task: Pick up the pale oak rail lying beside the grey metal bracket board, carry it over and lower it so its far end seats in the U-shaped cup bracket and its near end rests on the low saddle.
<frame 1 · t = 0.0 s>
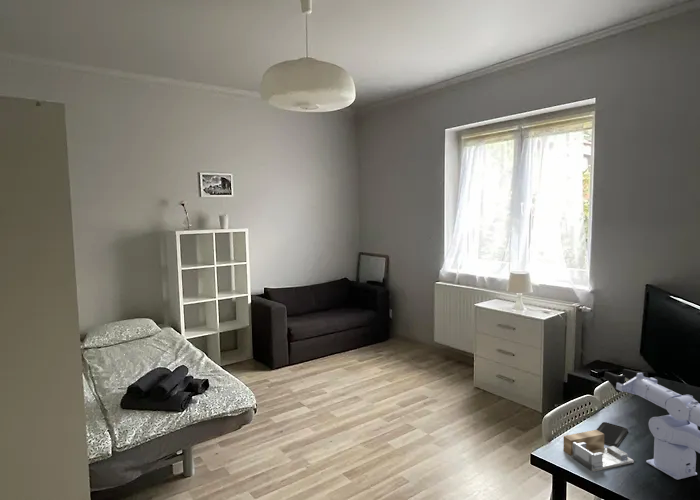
hand: (614, 373, 144), 22 cm above the table, tool horizontal, fingers open, 7 cm apart
phone: (609, 436, 147), on the table
oak rail: (583, 450, 138), on the table
bracket board: (604, 459, 132), on the table
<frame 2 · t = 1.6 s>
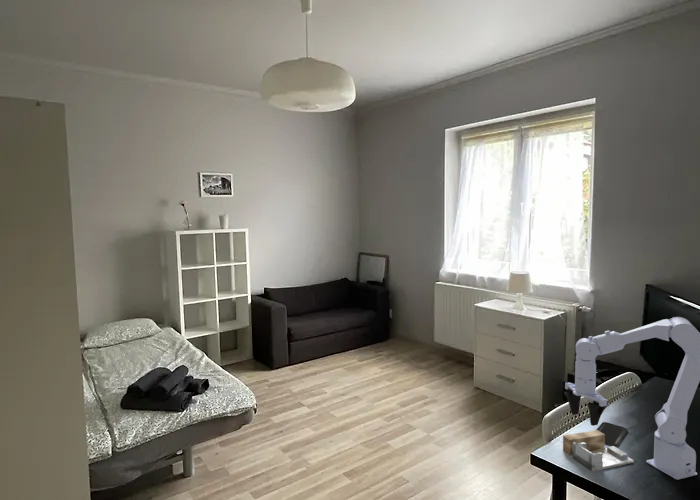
hand: (584, 419, 137), 10 cm above the table, tool pointing down, fingers open, 7 cm apart
nothing on the table moved.
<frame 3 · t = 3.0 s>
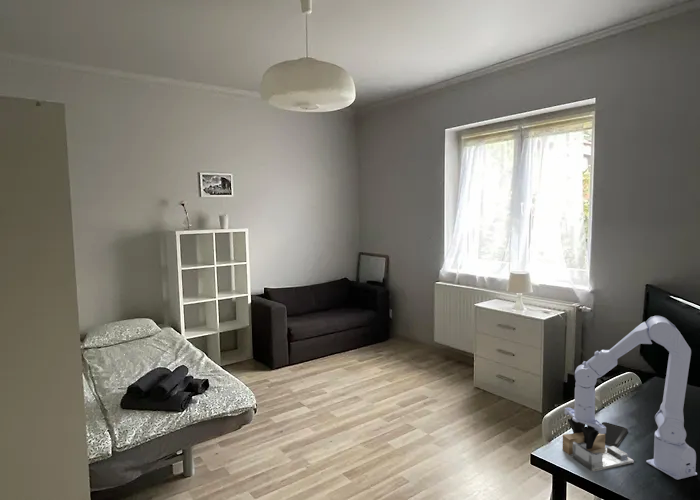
hand: (583, 445, 138), 1 cm above the table, tool pointing down, fingers closed on oak rail, 3 cm apart
oak rail: (583, 449, 138), on the table, touching gripper
everything else where it was.
when the fingers open (9 cm above the table, at t = 5.6 s): oak rail drops 2 cm, resting on bracket board.
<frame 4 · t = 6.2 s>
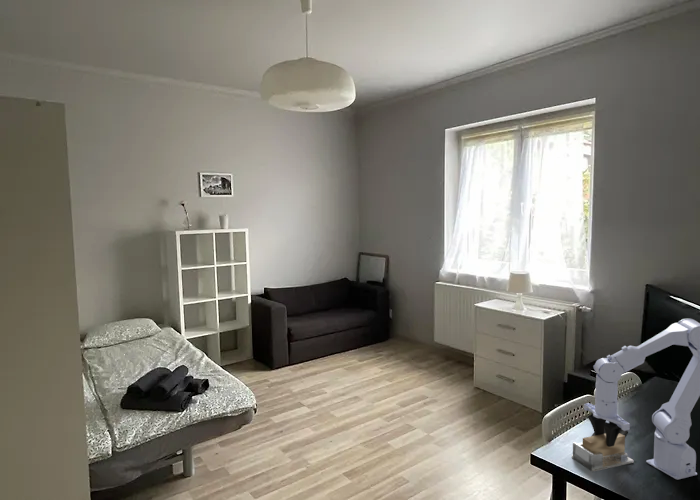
hand: (604, 442, 132), 5 cm above the table, tool pointing down, fingers open, 3 cm apart
oak rail: (603, 452, 132), point 2 cm above the table, touching bracket board, gripper
everything else where it was.
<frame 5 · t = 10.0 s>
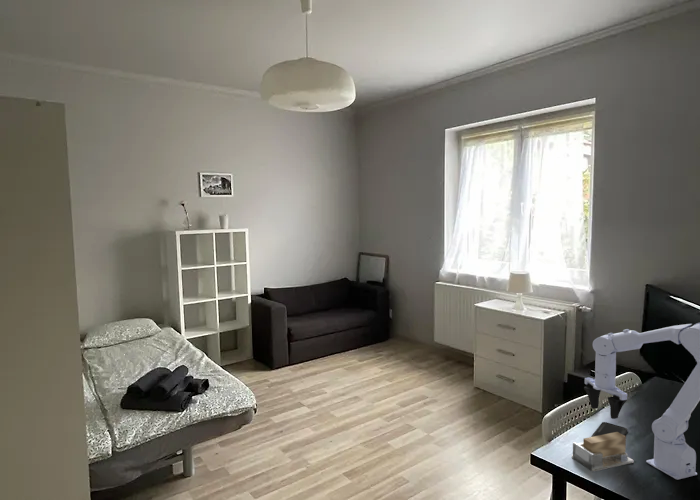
hand: (604, 413, 141), 10 cm above the table, tool pointing down, fingers open, 7 cm apart
oak rail: (604, 453, 132), point 2 cm above the table, touching bracket board
everything else where it was.
at the end: oak rail 0.3 cm off-centre on the bracket board, point 2.0 cm above the bracket board's base; oak rail tilted 0°; the gripper is holding nothing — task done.
